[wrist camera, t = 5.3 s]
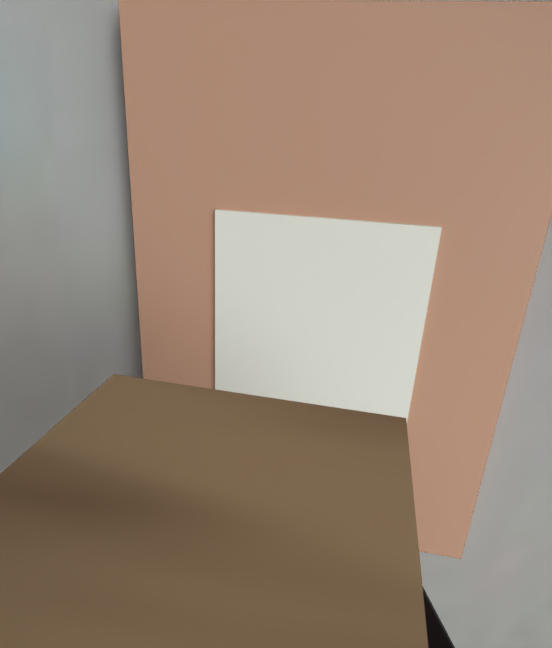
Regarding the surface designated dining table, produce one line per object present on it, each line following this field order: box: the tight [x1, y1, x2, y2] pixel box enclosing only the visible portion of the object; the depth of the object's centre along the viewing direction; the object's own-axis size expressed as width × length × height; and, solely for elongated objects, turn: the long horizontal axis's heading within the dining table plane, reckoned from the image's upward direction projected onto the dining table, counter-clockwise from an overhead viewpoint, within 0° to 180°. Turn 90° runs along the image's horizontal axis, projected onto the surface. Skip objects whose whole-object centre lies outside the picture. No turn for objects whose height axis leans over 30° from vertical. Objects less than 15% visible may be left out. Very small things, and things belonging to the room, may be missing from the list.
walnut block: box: [0, 374, 428, 648], centre depth 6 cm, size 5×5×5 cm
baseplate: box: [118, 0, 552, 559], centre depth 18 cm, size 20×14×1 cm
